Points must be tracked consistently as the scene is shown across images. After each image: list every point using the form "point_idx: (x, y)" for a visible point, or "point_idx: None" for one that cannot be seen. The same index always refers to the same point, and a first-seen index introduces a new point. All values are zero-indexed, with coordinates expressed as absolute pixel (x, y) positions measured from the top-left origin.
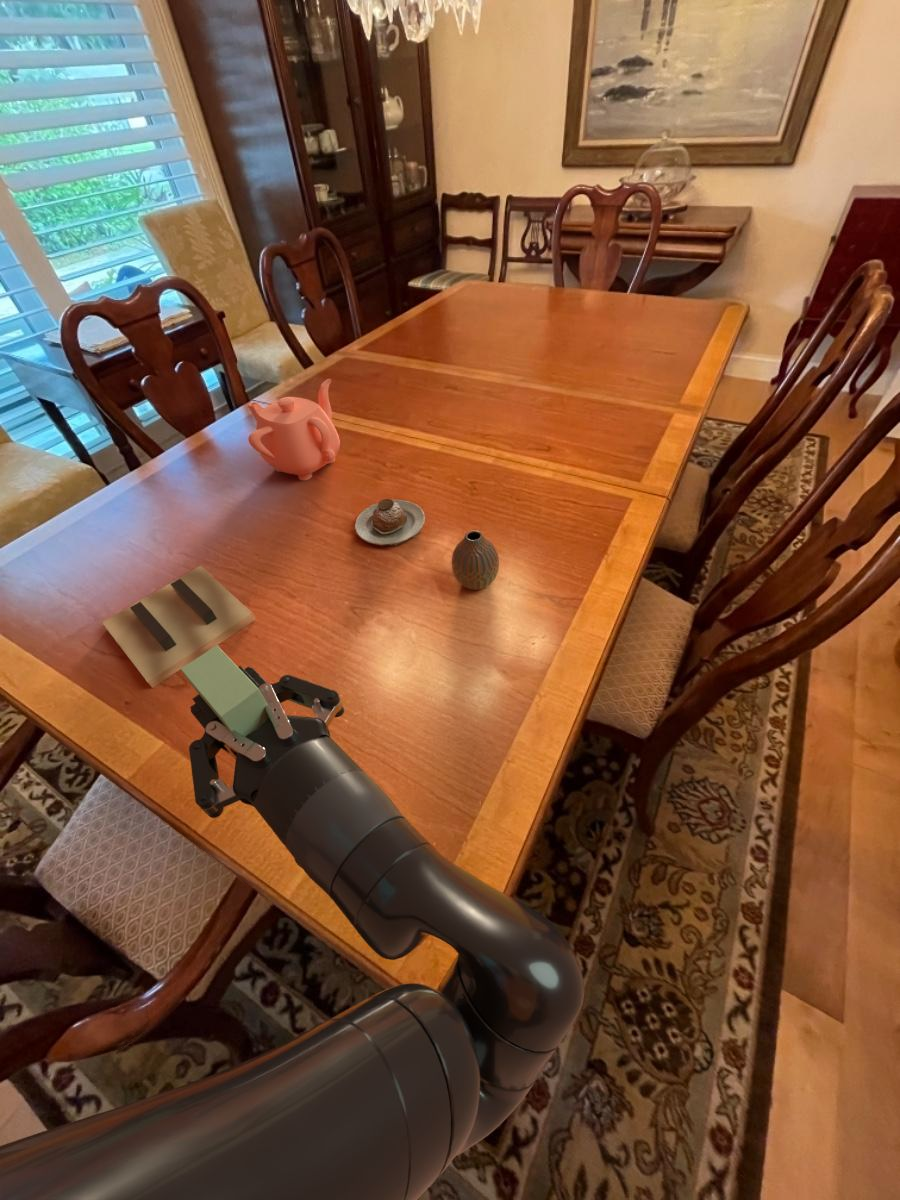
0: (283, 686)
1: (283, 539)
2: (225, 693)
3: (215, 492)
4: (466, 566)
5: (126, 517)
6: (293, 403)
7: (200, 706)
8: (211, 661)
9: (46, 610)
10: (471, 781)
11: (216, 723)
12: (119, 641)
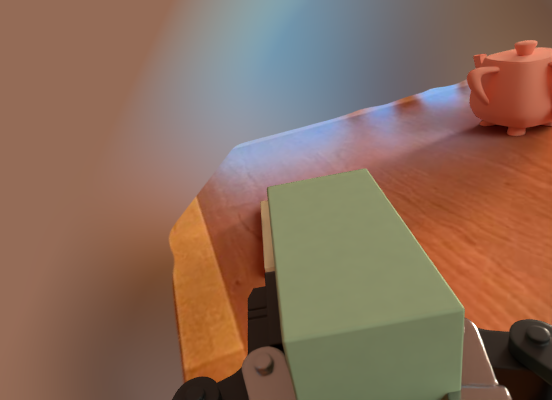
0: (525, 353)
1: (473, 181)
2: (337, 273)
3: (408, 132)
4: None
5: (323, 137)
6: (535, 45)
7: (269, 295)
8: (338, 190)
9: (231, 184)
10: None
11: (278, 359)
12: (264, 221)
